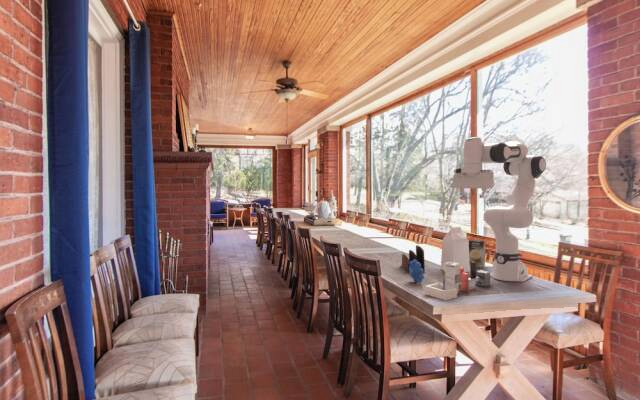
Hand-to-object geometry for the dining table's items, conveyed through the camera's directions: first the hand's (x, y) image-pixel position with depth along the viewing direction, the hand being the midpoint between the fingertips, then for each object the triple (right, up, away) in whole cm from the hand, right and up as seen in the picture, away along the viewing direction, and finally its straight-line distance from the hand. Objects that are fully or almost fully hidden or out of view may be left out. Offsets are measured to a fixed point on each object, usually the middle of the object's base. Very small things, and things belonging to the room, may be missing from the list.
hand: (472, 197), depth 203 cm
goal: (-19, -46, -12) cm, 51 cm away
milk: (+4, -43, +40) cm, 59 cm away
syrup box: (-13, -46, -8) cm, 49 cm away
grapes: (-26, -45, +12) cm, 53 cm away
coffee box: (+22, -43, +52) cm, 71 cm away
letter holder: (-20, -44, +44) cm, 65 cm away
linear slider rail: (+2, -45, +2) cm, 45 cm away
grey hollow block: (+7, -45, +6) cm, 46 cm away
